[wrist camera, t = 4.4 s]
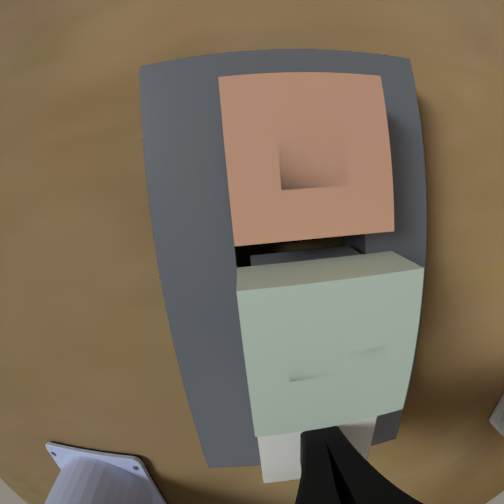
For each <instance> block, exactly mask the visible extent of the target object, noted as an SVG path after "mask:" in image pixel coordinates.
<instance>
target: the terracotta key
mask: <svg viewBox="0 0 504 504" xmlns="http://www.w3.org/2000/svg"><path fill="white" fill-rule="evenodd" d="M218 80H219V92H220V103H221V115H222V126H223V137H224V147H225V158H226V168H227V178H228V189H229V198H230V208H231V218H232V228H233V237H234V246H245V245H255V244H265V243H275V242H285V241H296V240H306V239H317V238H327V237H338V236H348V235H359V234H370V233H381V232H392V231H394V196H393V177H392V163H391V151H390V140H389V131H388V123H387V115H386V107H385V101H384V94H383V88H382V82H381V76H377V75H365V74H351V73H329V72H282V73H259V74H245V75H233V76H223V77H218Z"/></svg>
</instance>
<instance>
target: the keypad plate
mask: <svg viewBox="0 0 504 504" xmlns="http://www.w3.org/2000/svg"><path fill="white" fill-rule="evenodd" d="M282 72H329V73H351V74H365V75H377V76H381V82H382V88H383V94H384V101H385V107H386V115H387V123H388V131H389V140H390V151H391V163H392V177H393V196H394V231H392V232H381V233H370V234H359V235H348V236H344V246H349V247H351V248H353V249H354V250H356V251H357V252H359V253H360V254H370V253H379V252H388V251H393V252H395V253H397V254H398V255H400V256H402V257H404V258H406V259H408V260H410V261H412V262H414V263H416V264H417V265H419V266H421V267H423V268H424V278H423V290H422V301H421V310H420V319H421V311H422V302H423V291H424V279H425V264H426V239H427V200H426V175H425V160H424V148H423V138H422V129H421V121H420V114H419V107H418V100H417V94H416V88H415V83H414V77H413V72H412V67H411V63H410V59H407V58H401V57H395V56H388V55H380V54H372V53H363V52H352V51H338V50H315V49H276V50H253V51H239V52H228V53H218V54H210V55H202V56H195V57H188V58H182V59H176V60H170V61H165V62H160V63H155V64H150V65H145V66H141V67H140V98H141V118H142V134H143V147H144V159H145V170H146V180H147V189H148V198H149V206H150V214H151V221H152V228H153V235H154V242H155V249H156V255H157V261H158V267H159V273H160V279H161V284H162V290H163V295H164V300H165V305H166V310H167V315H168V320H169V325H170V329H171V334H172V338H173V343H174V347H175V352H176V356H177V360H178V364H179V368H180V372H181V376H182V380H183V384H184V388H185V392H186V395H187V399H188V403H189V406H190V410H191V413H192V417H193V420H194V424H195V427H196V430H197V434H198V437H199V440H200V443H201V446H202V450H203V453H204V456H205V459H206V462H207V465H208V468H214V467H240V466H254V465H261V460H260V453H259V445H258V438H257V437H255V433H254V426H253V419H252V411H251V404H250V396H249V389H248V381H247V374H246V366H245V358H244V350H243V342H242V334H241V326H240V318H239V309H238V301H237V292H236V287H237V268H238V267H239V263H238V254H237V246H234V237H233V228H232V218H231V208H230V198H229V189H228V178H227V168H226V158H225V147H224V137H223V126H222V115H221V103H220V92H219V80H218V77H223V76H233V75H245V74H259V73H282ZM420 319H419V326H418V334H419V327H420ZM418 334H417V340H416V347H417V341H418ZM416 347H415V353H416ZM415 353H414V359H415ZM414 359H413V364H414ZM413 364H412V369H413ZM412 369H411V374H412ZM410 379H411V375H410ZM410 379H409V384H410ZM409 384H408V389H409ZM408 389H407V393H408ZM407 393H406V397H407ZM405 402H406V398H405ZM405 402H404V406H405ZM404 406H403V409H401V410H398V411H394V412H390V413H387V414H383V415H379V416H377V419H376V424H375V428H374V433H373V437H372V442H371V445H375V444H379V443H382V442H386V441H389V440H393V439H396V436H397V432H398V429H399V425H400V421H401V418H402V414H403V410H404Z"/></svg>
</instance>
